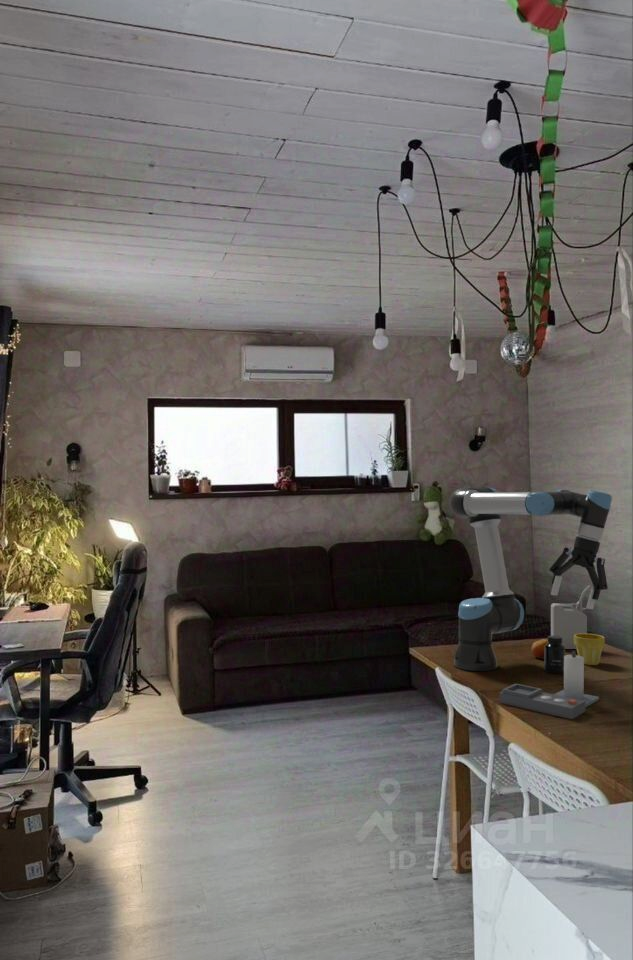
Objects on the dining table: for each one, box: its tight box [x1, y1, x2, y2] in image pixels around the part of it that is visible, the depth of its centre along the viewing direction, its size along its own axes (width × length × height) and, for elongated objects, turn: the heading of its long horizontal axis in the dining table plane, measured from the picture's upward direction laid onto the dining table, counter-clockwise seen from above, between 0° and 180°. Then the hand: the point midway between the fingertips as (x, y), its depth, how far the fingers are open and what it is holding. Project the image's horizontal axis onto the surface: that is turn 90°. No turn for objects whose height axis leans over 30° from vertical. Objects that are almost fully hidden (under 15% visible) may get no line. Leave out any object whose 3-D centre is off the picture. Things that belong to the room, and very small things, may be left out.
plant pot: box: [574, 633, 606, 666], centre depth 255 cm, size 10×10×10 cm
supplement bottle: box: [543, 635, 566, 675], centre depth 243 cm, size 7×7×12 cm
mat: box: [553, 689, 600, 708], centre depth 211 cm, size 11×11×1 cm
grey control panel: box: [498, 683, 586, 720], centre depth 204 cm, size 22×9×4 cm, turn 47°
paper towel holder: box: [563, 650, 585, 700], centre depth 211 cm, size 6×6×14 cm
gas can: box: [550, 584, 592, 651], centre depth 277 cm, size 15×5×25 cm, turn 83°
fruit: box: [531, 638, 548, 660], centre depth 262 cm, size 8×8×8 cm
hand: (571, 601), depth 227 cm, fingers open, 13 cm apart
